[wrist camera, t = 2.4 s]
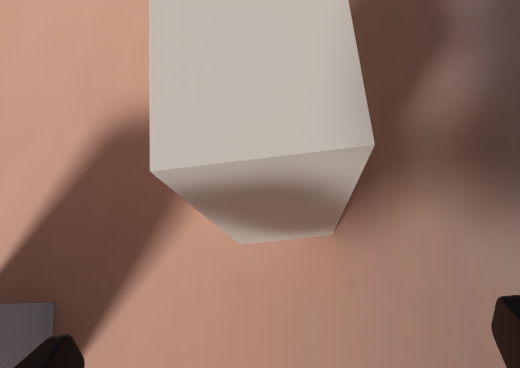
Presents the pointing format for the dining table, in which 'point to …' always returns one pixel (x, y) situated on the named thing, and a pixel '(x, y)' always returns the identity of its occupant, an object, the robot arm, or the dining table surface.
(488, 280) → the dining table surface
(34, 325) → the slate-blue block
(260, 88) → the cream block
